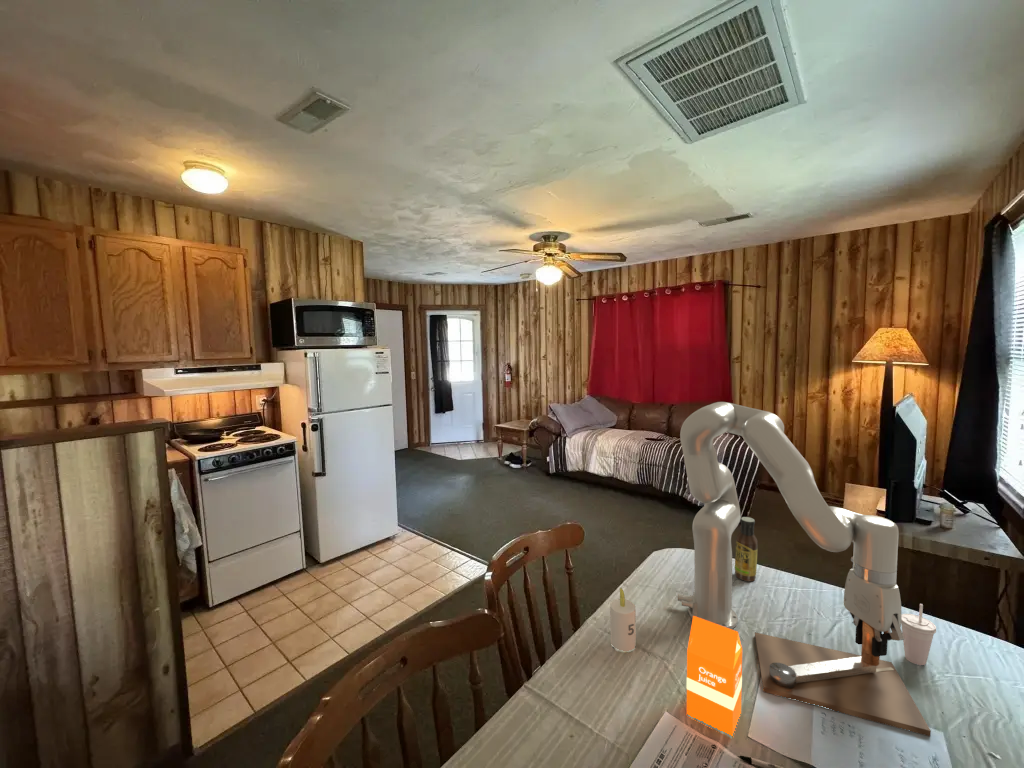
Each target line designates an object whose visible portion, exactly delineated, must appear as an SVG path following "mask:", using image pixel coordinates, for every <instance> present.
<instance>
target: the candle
mask: <svg viewBox="0 0 1024 768" xmlns="http://www.w3.org/2000/svg"><path fill="white" fill-rule="evenodd" d="M609 610H610V611H609V613H610V617H609V619H610V621H609V622H610V624H609V625H610V631H609V632H610V645H611V644H612V645H613V646H614V647H615V648H617V649H619V650H623V651H629V650H632V649H634V648H635V646H636V647H637V645H636V640H637V639H636V635H637V634H636V632H637V631H636V627H637V625H636V624H637V623H636V617H637V615H636V605H635V604H634V603H633V601H631V600H629V599H626V597H625V593H624V590H623V588H622V587H620V588H619V598H616V599H613V600H612V601H610V604H609ZM635 649H636V648H635Z"/></svg>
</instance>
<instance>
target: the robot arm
mask: <svg viewBox="0 0 1024 768" xmlns="http://www.w3.org/2000/svg"><path fill="white" fill-rule="evenodd" d="M679 433H680V434H679V437H680V438H679V439H680V444H681V445H680V446H681V449H682V454H683V458H684V459H683V460H684V466H685V471H686V476H687V482H688V486H689V487H688V488H689V491H690V494H691V495H692V497H693V498H694V499H695V500H696V501H698V502H699V503H702V504H704V506H702V508H700V510H699V511H698V512H697V513H696V514H695V516H694V518H693V521H692V526H691V527H692V537H693V543H694V544H693V545H694V581H693V582H694V586H693V587H694V591H693V594H692V595H685V594H681V593H677V601H678V602H681V606H683V607H687V608H688V609H687V610H688V616H690V618H691V620H693V616H696V617H698V618H701V619H704V620H707V621H710V622H712V623H715V624H718V625H721V626H723V627H726V628H729V629H732V630H733V629H734V628H736V627H737V625H738V623H739V622H738V621H739V619H738V615H737V613H736V612H735V611H734V610H733V608H732V607H733V605H732V600H733V596H732V595H733V549H732V535H733V534H734V532H735V530H736V528H737V527H738V526H739V524H740V523H741V518H742V517H741V508H740V503H739V498H738V497H739V496H738V493H737V489H736V483H735V479H734V476H733V474H732V472H731V470H730V469H729V468H728V466H727V465H725V464H723V463H721V462H720V461H719V460H718V454H717V451H716V448H715V445H714V439H715V438H717V437H719V436H721V435H723V434H725V433H729V434H733V435H738V436H741V437H742V438H743V440H744V442H745V443H746V445H747V446H748V448H749V449H750V450H751V452H753V454H754V455H755V456H756V458H757V459H758V460H759V462H760V463H761V464H762V465H763V468H765V470H766V471H767V473H768V474H769V475H770V477H771V478H772V479H773V481H774V482H775V484H776V486H777V488H778V490H779V492H780V493H781V496H782V497H783V499H784V500H785V503H786V504H787V507H788V508H789V510H790V512H791V513H792V515H793V516H794V519H795V520H796V521H797V522H798V523H799V525H800V526H801V528H802V529H803V530H804V532H805V533H806V534H807V535H808V537H809V538H810V539H811V540H812V541H813V542H814V543H815V544H816V545H817V546H818V547H820V548H821V549H823V550H825V551H828V552H831V553H832V552H833V553H839V552H843V551H846V550H848V549H849V547H850V546H851V545H852V544H853V550H852V551H853V556H851V558H850V561H851V562H852V568H850V569H849V571H848V573H847V576H846V580H845V585H844V592H843V607H844V608H845V609H846V610H847V611H848V612H849V614H850V616H851V618H852V619H853V620H852V622H853V625H854V626H855V641H854V642H855V643H856V644H858V645H862V627H863V621H864V622H865V623H867V624H868V625H870V626H872V627H873V628H874V629H875V638H873V639H872V655H873V656H875V657H877V656H880V657H885V656H886V655H888V641H903V640H904V636H903V633H902V624H901V619H902V614H903V612H902V601H901V594H900V589H899V586H898V584H897V575H898V574H897V573H898V572H897V571H898V549H899V535H900V534H899V527H898V525H897V523H895V522H893V521H892V520H890V519H888V518H885V517H882V516H877V515H871V514H868V515H867V514H861V513H858V512H854V511H851V510H848V509H845V508H842V507H837V506H831V505H828V504H827V502H826V501H825V499H824V497H823V496H822V494H821V492H820V490H819V488H818V486H817V483H816V481H815V476H814V473H813V472H814V471H813V469H812V468H811V466H810V464H809V462H808V461H807V460H806V458H805V457H803V455H802V454H801V452H800V451H799V450H798V449H797V447H796V446H795V445H794V444H793V443H792V442H791V440H790V439H789V438H788V435H786V434H785V425H784V422H783V420H782V419H781V418H780V417H779V416H778V415H776V414H775V413H773V412H771V411H766V410H763V409H762V410H761V409H757V408H754V407H753V408H752V407H748V406H744V405H740V404H736V403H732V402H726V401H717V402H713V403H711V404H708V405H705V406H702V407H701V408H698V409H697V410H695V411H694V412H693V413H691V414H690V415H689V416H688V417H687V418H686V419H685V420H684V421H683V423H682V425H681V428H680V432H679Z"/></svg>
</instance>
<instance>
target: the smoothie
mask: <svg viewBox="0 0 1024 768" xmlns="http://www.w3.org/2000/svg"><path fill="white" fill-rule="evenodd" d="M923 609H924V605H923V603H919V610H918V611H919V612H918V613H919V614H918V615H917V614H912V613H902V619H901V631H902V633H903V636H904V640H902V641H903V650H904V657H905V659H906V660H907V661H908V662H910V663H912V664H914V665H916V664H917V665H916V666H921V665H924V666H926V665H927V662H928V658H929V655H930V650H931V647H932V643H933V640H934V634H936V633H937V626H936V625H935V624H934V622H932V621H931V620H929V619H927V618H925V617H923V615H924V614H923V611H924V610H923ZM925 664H926V665H925Z"/></svg>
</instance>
